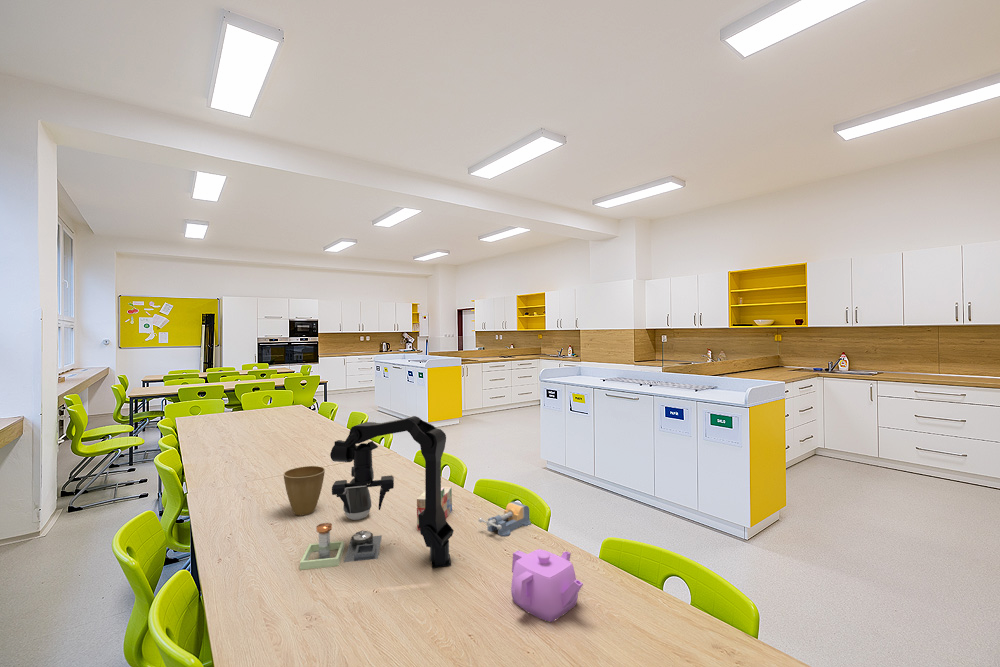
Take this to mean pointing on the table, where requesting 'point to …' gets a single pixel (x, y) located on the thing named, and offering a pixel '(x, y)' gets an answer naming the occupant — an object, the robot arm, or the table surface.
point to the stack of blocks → (445, 502)
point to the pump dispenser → (358, 503)
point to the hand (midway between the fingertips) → (364, 511)
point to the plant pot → (304, 488)
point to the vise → (509, 519)
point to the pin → (324, 540)
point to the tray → (321, 562)
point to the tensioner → (363, 547)
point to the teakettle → (544, 583)
